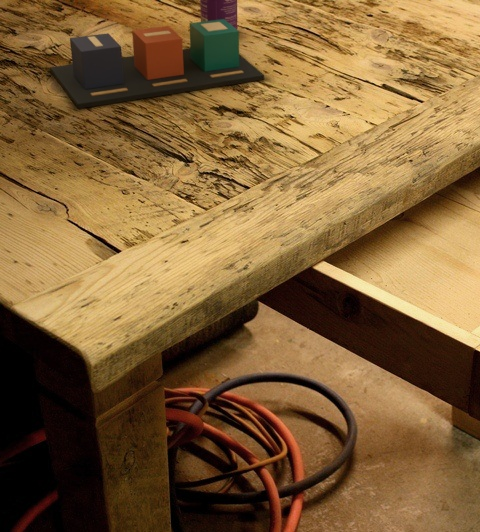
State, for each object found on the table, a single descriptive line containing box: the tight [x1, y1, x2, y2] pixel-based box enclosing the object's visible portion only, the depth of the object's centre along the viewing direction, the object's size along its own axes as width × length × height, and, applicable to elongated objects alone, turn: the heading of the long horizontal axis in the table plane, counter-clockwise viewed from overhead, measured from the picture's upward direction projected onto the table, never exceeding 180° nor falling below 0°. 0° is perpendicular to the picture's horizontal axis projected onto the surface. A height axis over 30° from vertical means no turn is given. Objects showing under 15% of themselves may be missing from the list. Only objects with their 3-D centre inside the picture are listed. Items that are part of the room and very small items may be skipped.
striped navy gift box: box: [69, 32, 124, 89], centre depth 103 cm, size 4×4×4 cm
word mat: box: [49, 47, 265, 109], centre depth 108 cm, size 22×11×1 cm, turn 120°
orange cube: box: [131, 25, 184, 80], centre depth 107 cm, size 4×4×4 cm
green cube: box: [189, 19, 240, 72], centre depth 110 cm, size 4×4×4 cm
